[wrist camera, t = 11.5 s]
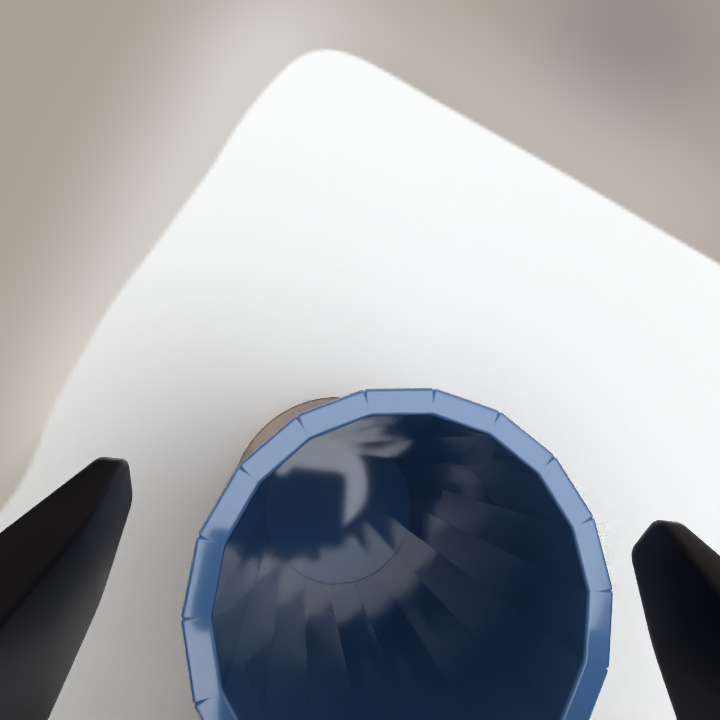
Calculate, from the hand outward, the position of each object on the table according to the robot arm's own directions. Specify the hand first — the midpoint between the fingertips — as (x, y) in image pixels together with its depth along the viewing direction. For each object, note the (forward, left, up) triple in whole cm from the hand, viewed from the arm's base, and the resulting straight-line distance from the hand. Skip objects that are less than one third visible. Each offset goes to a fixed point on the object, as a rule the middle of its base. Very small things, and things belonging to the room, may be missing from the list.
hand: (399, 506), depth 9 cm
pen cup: (-1, -1, -11) cm, 11 cm away
